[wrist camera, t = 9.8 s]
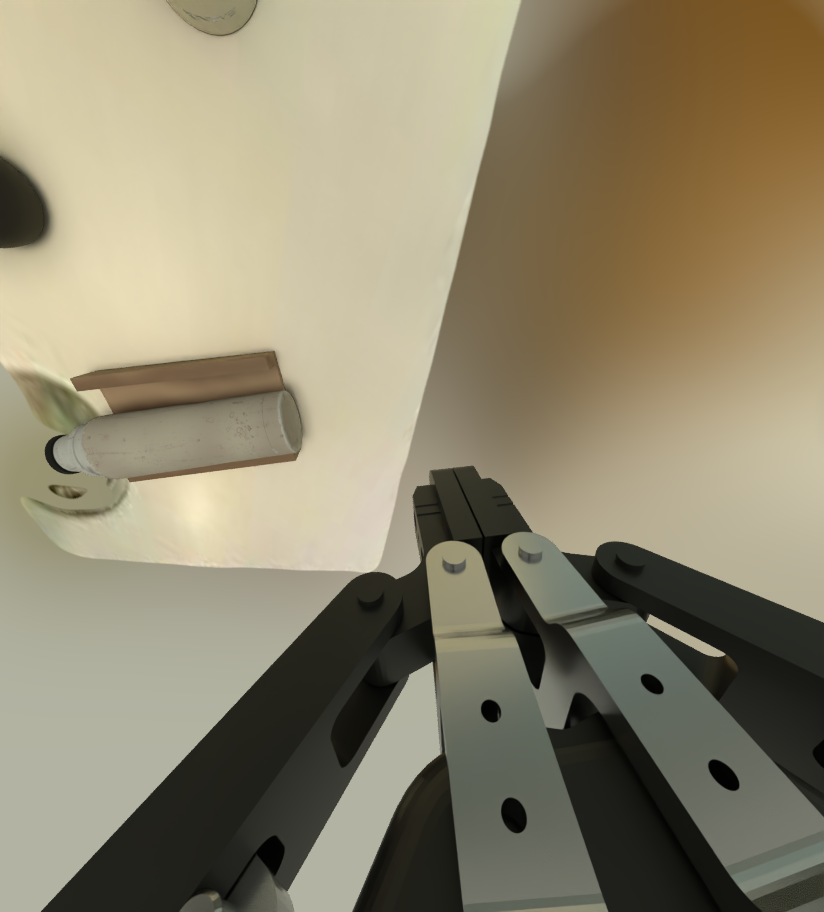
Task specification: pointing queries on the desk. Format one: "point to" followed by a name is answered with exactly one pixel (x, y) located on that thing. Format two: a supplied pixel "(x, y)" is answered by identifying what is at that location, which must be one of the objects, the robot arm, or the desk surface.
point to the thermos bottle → (180, 437)
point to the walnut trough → (188, 391)
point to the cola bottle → (18, 209)
